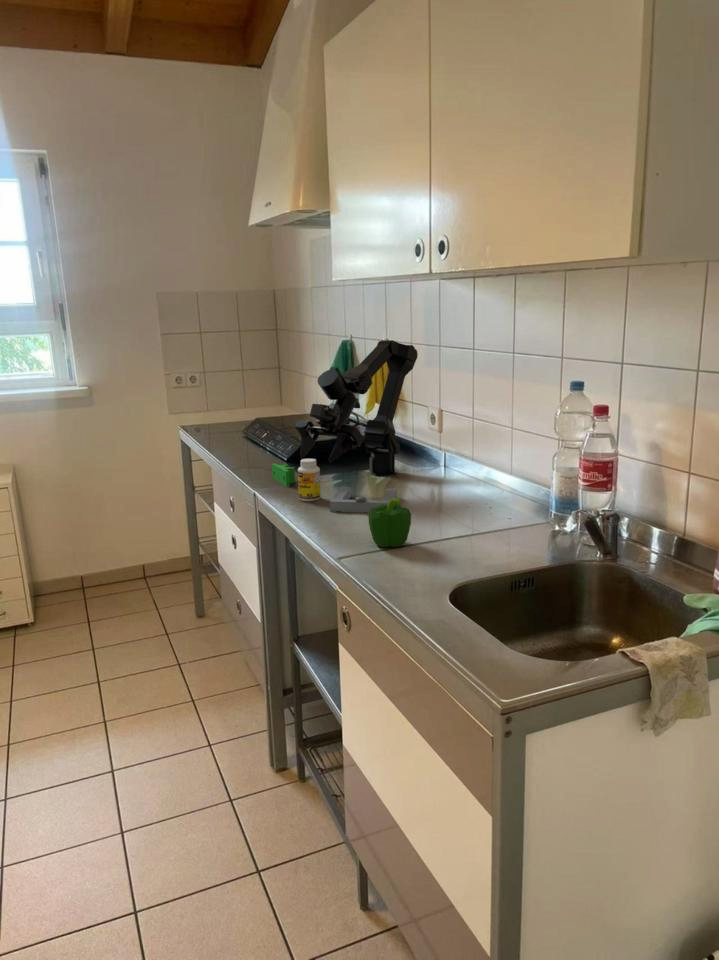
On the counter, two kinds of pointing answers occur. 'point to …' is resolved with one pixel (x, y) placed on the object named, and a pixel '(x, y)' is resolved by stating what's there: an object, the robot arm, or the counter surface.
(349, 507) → the housing cradle
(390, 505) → the bell pepper
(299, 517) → the counter surface
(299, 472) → the supplement bottle
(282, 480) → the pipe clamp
